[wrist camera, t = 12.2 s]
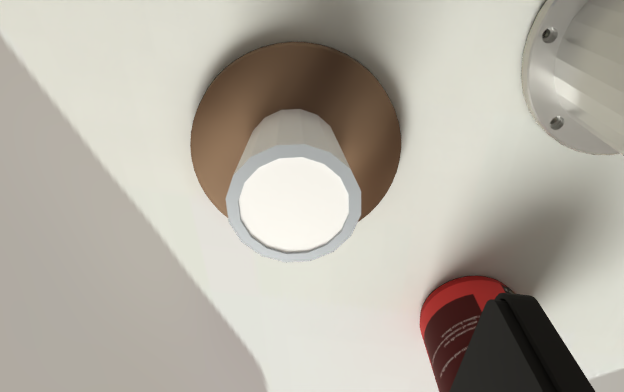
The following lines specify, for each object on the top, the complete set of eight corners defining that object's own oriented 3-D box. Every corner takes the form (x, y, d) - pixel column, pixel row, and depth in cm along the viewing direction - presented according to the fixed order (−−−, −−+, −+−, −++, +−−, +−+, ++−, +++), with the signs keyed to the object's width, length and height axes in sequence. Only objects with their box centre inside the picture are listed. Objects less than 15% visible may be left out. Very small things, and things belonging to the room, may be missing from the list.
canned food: (510, 345, 42) (576, 472, 32) (413, 350, 42) (450, 480, 32) (526, 269, 39) (605, 387, 29) (420, 274, 38) (464, 395, 29)
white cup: (256, 210, 34) (248, 276, 28) (222, 114, 31) (205, 163, 24) (358, 187, 33) (373, 248, 27) (335, 85, 30) (347, 129, 24)
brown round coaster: (424, 67, 31) (429, 73, 30) (366, 245, 37) (368, 254, 36) (207, 19, 29) (204, 23, 28) (183, 213, 35) (179, 222, 34)
